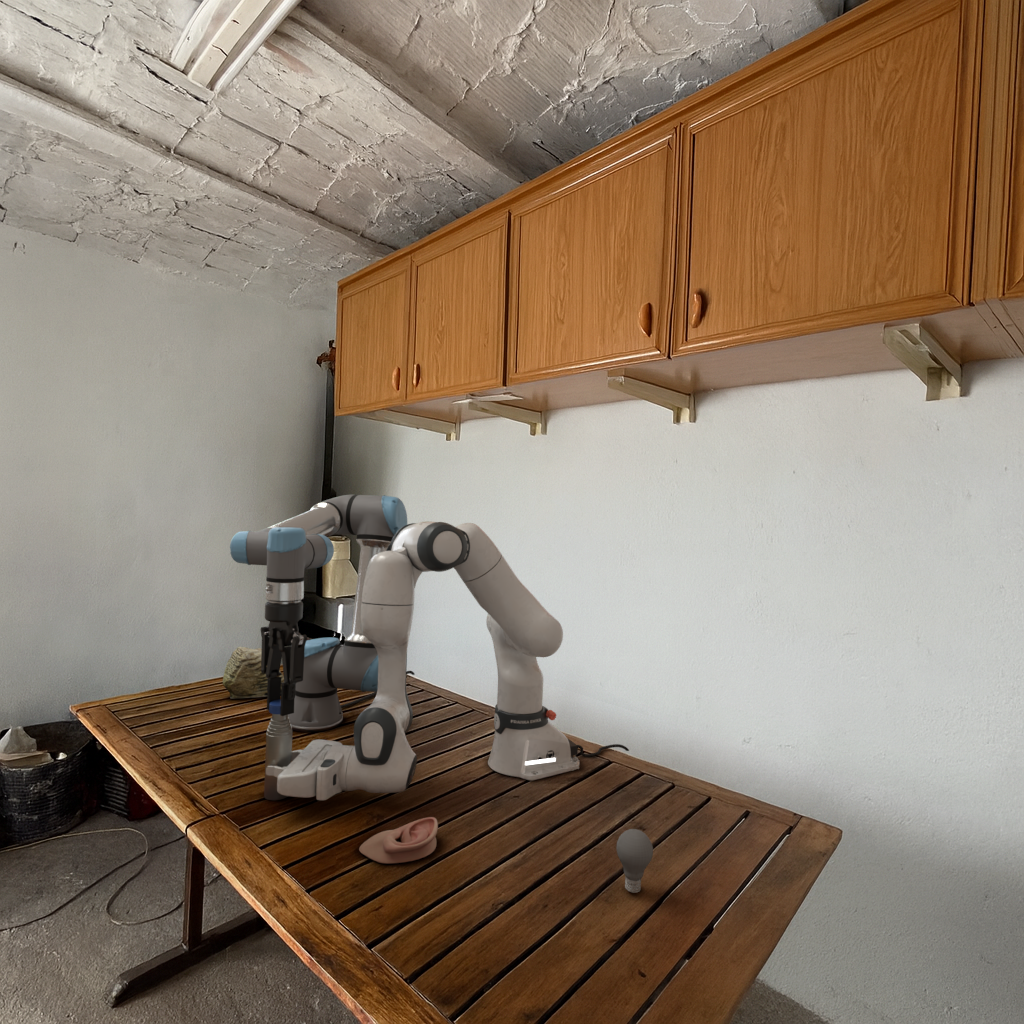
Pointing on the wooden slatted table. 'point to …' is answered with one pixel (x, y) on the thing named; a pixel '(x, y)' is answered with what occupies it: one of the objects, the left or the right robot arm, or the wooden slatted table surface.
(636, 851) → the light bulb
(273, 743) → the bottle
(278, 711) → the cap
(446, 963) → the wooden slatted table surface
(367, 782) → the right robot arm
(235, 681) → the fossil
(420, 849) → the anatomical model
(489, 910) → the wooden slatted table surface
